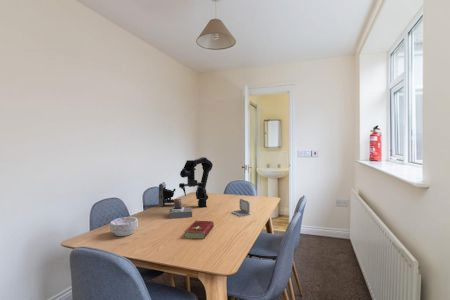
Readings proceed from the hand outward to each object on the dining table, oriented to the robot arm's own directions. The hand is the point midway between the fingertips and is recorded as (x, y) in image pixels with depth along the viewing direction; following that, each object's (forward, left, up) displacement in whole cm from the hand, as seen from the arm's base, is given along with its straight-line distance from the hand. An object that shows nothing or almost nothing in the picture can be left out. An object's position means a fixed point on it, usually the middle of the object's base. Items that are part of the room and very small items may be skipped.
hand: (191, 195), depth 197 cm
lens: (+11, +11, -8) cm, 17 cm away
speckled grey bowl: (+43, +41, -12) cm, 61 cm away
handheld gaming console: (-35, +18, -12) cm, 41 cm away
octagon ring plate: (+9, +11, -12) cm, 19 cm away
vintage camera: (+18, -24, -12) cm, 32 cm away
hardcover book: (-1, +50, -13) cm, 51 cm away
